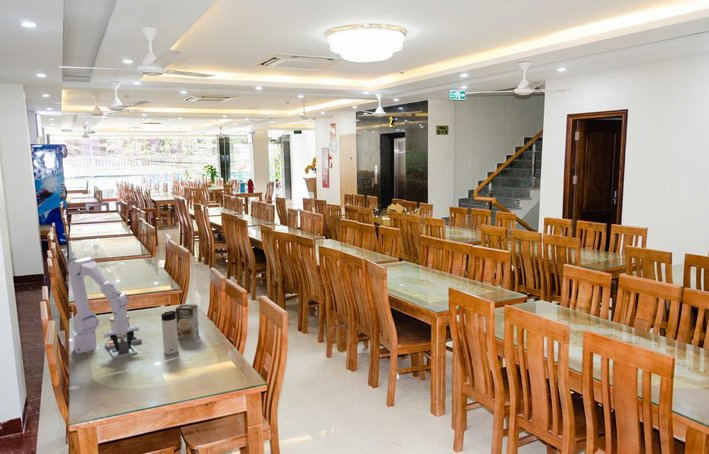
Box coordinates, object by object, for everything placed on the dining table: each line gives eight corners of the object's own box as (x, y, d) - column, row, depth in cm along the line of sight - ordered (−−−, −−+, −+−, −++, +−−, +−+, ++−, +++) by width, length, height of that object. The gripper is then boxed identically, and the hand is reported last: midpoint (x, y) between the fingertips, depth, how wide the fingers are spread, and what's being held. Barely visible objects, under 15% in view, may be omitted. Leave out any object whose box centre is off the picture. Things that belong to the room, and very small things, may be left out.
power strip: (108, 351, 236) (107, 345, 236) (105, 347, 242) (104, 340, 242) (141, 344, 245) (141, 338, 245) (138, 339, 251) (137, 334, 250)
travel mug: (174, 356, 229) (171, 314, 226) (161, 355, 231) (158, 313, 228) (181, 351, 235) (178, 309, 233) (169, 350, 237) (166, 309, 234)
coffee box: (176, 339, 251) (174, 308, 248) (182, 334, 257) (180, 304, 255) (194, 339, 250) (192, 308, 247) (199, 335, 256) (197, 304, 254)
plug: (119, 355, 230) (118, 338, 229) (117, 352, 233) (116, 336, 232) (129, 353, 232) (127, 336, 231) (127, 350, 236) (125, 334, 234)
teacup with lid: (132, 334, 258) (130, 312, 257) (112, 338, 253) (110, 316, 251) (127, 328, 268) (125, 307, 266) (108, 332, 263) (106, 310, 261)
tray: (114, 360, 226) (113, 357, 226) (109, 353, 234) (109, 350, 234) (137, 354, 232) (137, 351, 232) (132, 348, 240) (132, 345, 240)
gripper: (105, 326, 223) (107, 355, 225) (139, 319, 232) (141, 347, 234) (102, 322, 229) (104, 350, 231) (135, 315, 237) (138, 343, 239)
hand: (123, 348), depth 233 cm, fingers open, 4 cm apart
